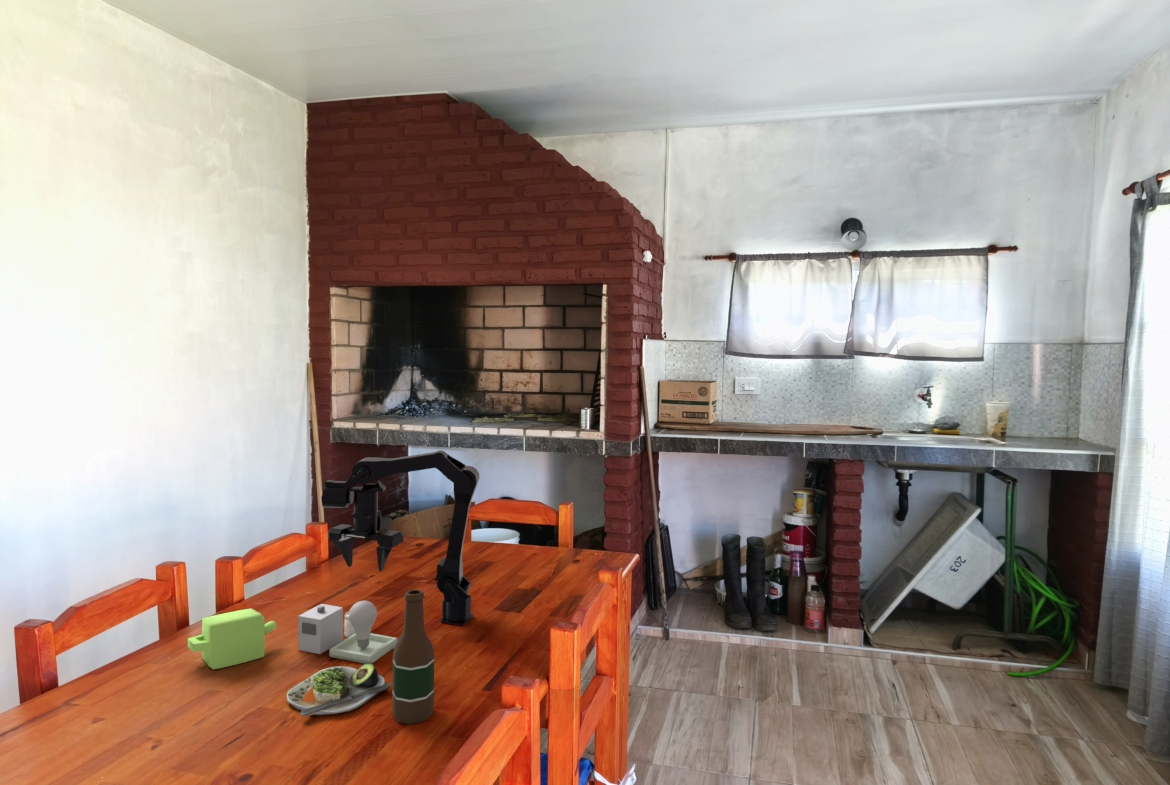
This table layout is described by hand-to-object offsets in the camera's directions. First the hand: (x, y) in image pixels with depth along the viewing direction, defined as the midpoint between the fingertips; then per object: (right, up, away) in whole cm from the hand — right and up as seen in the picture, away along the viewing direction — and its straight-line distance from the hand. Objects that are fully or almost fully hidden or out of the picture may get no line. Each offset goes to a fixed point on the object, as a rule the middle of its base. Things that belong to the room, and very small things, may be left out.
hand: (365, 568), depth 179 cm
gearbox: (-22, -14, -22) cm, 34 cm away
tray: (+5, -14, -18) cm, 23 cm away
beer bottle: (+23, -17, -44) cm, 53 cm away
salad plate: (+6, -16, -37) cm, 41 cm away
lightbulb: (+5, -14, -18) cm, 23 cm away
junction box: (-6, -14, -15) cm, 21 cm away
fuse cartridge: (0, -14, -9) cm, 16 cm away
